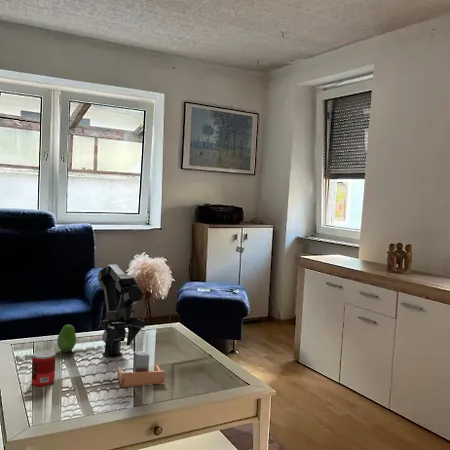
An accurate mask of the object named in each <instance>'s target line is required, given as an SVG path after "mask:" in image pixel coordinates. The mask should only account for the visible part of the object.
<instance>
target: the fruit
mask: <svg viewBox="0 0 450 450" xmlns="http://www.w3.org/2000/svg"><path fill="white" fill-rule="evenodd" d="M76 336H77V335H76V330H75V327H74V326H73V324H65V325H64V326H62V329H61V330H60V331H59V333H58V336H57V347H58V348H59V351H62V352H63V353H67V352H71V351H72V350H73V349H74V347H75V346H76V343H77V342H76V341H77V337H76Z"/></svg>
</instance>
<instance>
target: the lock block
mask: <svg viewBox="0 0 450 450" xmlns="http://www.w3.org/2000/svg"><path fill="white" fill-rule="evenodd" d="M149 368H150V354H149V352H148V350H137V351H134V352H133V365H132V372H146V371H149Z"/></svg>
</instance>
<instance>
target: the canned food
mask: <svg viewBox="0 0 450 450" xmlns="http://www.w3.org/2000/svg"><path fill="white" fill-rule="evenodd" d="M56 355H57V354H56V351H55V350H50V349H44V350H43V349H42V350H38V351H35V352H34V353H33V354H32V357H31V360H32V362H31V384H32V386H34V387H47V386H51V385H52V384H54V381H55V374H56V373H55V372H56V359H57V358H56Z"/></svg>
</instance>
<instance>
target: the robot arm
mask: <svg viewBox="0 0 450 450" xmlns="http://www.w3.org/2000/svg"><path fill="white" fill-rule="evenodd" d="M97 281H98V283H99V287H100V288H101V289H102V290H103V292H104V300H105V308H106V312H105V318H106V319H103V320H101V323H100V327H101V328H102V330H104V331H103V333H102V336H101V337H102V339H101V340H102V341H103V343H104V352H103V353H102V356H105V357H108V358H112V359H113V358H117V357H118V356H122V355H123V354H124V353H123V352H121V342H125V339H126V346H128V347H129V346H130V345H131V344H132V342H133V341H134V339H135V337H136V336H137V335H138V333H139V332H140V331H142V329H145V327H146V323H145V320H143V319H140V318H139V317H132V315H133V314H135V309H134V305H135V304H136V303H138V302H140V301H141V300H142V298H143V292H142V290H141V289H140V286H139V285H138V283H137V281H136V279H135V278H134V276H133V275H129V274H125V272H124V271H123V270H122V269H121V267H120V265H119V264H116V263H115V264H107V265H106V266H105V267H104V268H102V269H100V270H99V272H98V273H97ZM115 289H116V290H117V291H118V292H119V293H120V292H121V294H120V298H119V304H117V297H116V296H117V295H116V290H115ZM126 327H127V330H126ZM126 334H127V338H126Z"/></svg>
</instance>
